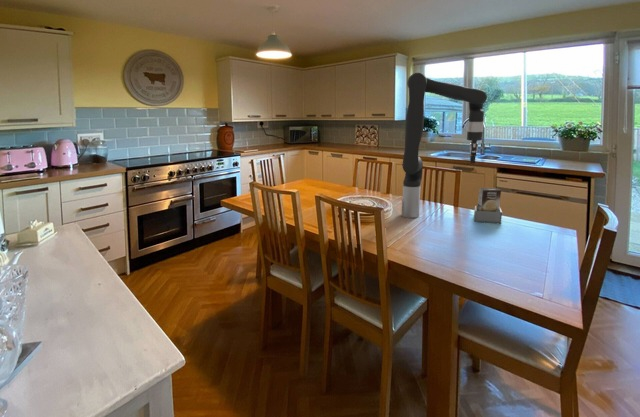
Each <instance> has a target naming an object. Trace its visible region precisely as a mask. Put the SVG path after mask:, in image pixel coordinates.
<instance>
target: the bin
mask: <svg viewBox="0 0 640 417" xmlns="http://www.w3.org/2000/svg"><path fill="white" fill-rule="evenodd" d="M477 207H478V205H474V210H473V212H474V213H473V220H474V223H484V222H485V223H488V224H497V223H499V224H502V217H503V211H502V208H501V206H499V212H491V211H477Z"/></svg>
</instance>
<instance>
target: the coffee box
mask: <svg viewBox="0 0 640 417" xmlns="http://www.w3.org/2000/svg"><path fill="white" fill-rule="evenodd" d="M501 195H502V190H501V189H500V188H497V187H479V190H478V198H477V206H478V207H477V211H491V212H499V207H500V202H501Z"/></svg>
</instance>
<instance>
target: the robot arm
mask: <svg viewBox="0 0 640 417" xmlns="http://www.w3.org/2000/svg"><path fill="white" fill-rule="evenodd" d="M406 84H407V85H406V86H407V88H408V106H407V110H406V116H405V126H404V129H405V130H404V132H405V133H404V152H403V158H402V169H403V171H404V173H405V175H404V179H403V182H402V183H403V185H402V200H401V215H400V216H401V217H404V218H410V219H413V218H418V217H420V204H421V203H420V201H421V185H422V184H421V183H422V180H423V169H424V166H423V164H424V162H423V159H422V158H421V157H420V156H419V149H420V148H419V147H420V144H421V140H422V137H423V134H424V124H425V123H424V121H425V120H424V119H425V117H424V116H425V108H424V107H425V106H424V103H425V94H426V93H429V94H435V95H438V96H442V97H445V98H449V99H452V100H456V101H459V102H467V103H468V107H469V108H468V109H469V114H468V123H467V130H466V140H467V141H471V142H470V143H469V153H470V156H469V160H470V164H476V156H477V153H478V148H479V143H478V141H479V142H480V141H482V140H483V136H484V135H483V133H484V118H485V112H484V105H483V104H484V103H485V102H486V101H487V99H488V95H487V93H486V91H484V90H483V89H477V88H473V87H472V88H471V87H466V86H464V85H460V84H455V83H450V82H444V81H436V80H434V79H431V78H429V77H426V75H425V74H424V73H422V72H419V71H418V72H415V73H413V74H410V76H409V77H408V78H407V81H406Z"/></svg>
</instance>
